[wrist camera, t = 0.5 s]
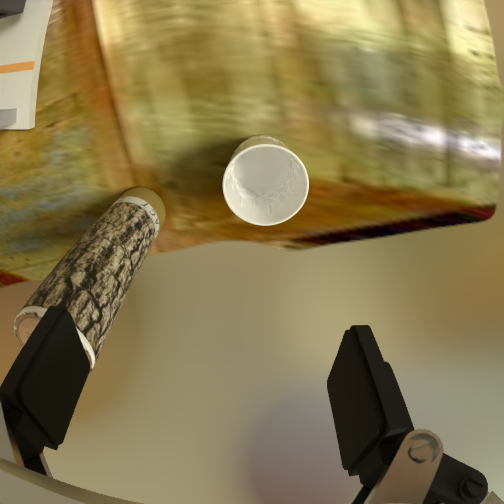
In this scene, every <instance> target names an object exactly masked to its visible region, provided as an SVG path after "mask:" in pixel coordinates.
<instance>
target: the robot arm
mask: <svg viewBox="0 0 504 504" xmlns="http://www.w3.org/2000/svg"><path fill="white" fill-rule="evenodd" d="M89 372H90V361H89V359H88V357H87V354H86V352H85V349H84V347H83V344H82V342H81V339H80V337H79V334H78V331H77V329H76V326H75V323H74V320H73V317H72V315H71V313H70V312H68V310H67V309H66V308H65V307H60V306H53V305H51V306H50V307H49V308H48V309H47V311H46V312H45V314H44V315H43V317H42V318H41V320H40V321H39V323H38V324H37V326H36V327H35V329H34V330H33V332H32V334H31V335H30V337H29V338H28V340H27V342H26V343H25V345H24V346H23V348H22V350H21V351H20V353H19V355H18V356H17V358H16V360H15V362H14V363H13V365H12V367H11V369H10V370H9V372H8V374H7V376H6V377H5V379H4V381H3V383H2V385H1V387H0V504H142V503H136V502H132V501H127V500H123V499H119V498H114V497H110V496H107V495H103V494H99V493H96V492H92V491H89V490H86V489H82V488H79V487H76V486H73V485H70V484H67V483H64V482H61V481H59V480H55V479H53V477H52V474H51V472H50V470H49V467H48V465H47V462H46V459H45V457H44V454H43V449H44V446H46V447H48V448H51V449H54V450H57V448H58V445H60V444H62V443H63V440H64V438H65V435H66V432H67V429H68V426H69V424H70V420H71V418H72V415H73V413H74V409H75V407H76V404H77V402H78V399H79V397H80V394H81V392H82V389H83V386H84V384H85V382H86V379H87V377H88V374H89ZM327 389H328V394H329V399H330V404H331V408H332V414H333V419H334V424H335V429H336V433H337V439H338V444H339V450H340V455H341V460H342V466H343V468H344V470H348V473H349V476H355V475H359V477H360V482H361V486H360V488H359V489H358V491H357V492H356V494H355V495H354V497H353V498H352V500H351V501H350V503H349V504H504V502H503V501H502V500H501V499H500V498H499V497H498V496H497V495H496V494H495V493H494V492H493V491H492V492H491V493H489V492H488V483H487V480H486V478H485V476H484V475H483V474H482V473H481V472H479V471H478V470H476V469H474V468H472V467H470V466H467V465H466V464H464V463H462V462H460V461H458V460H456V459H454V458H452V457H450V456H448V455H446V454H445V453H443V444H442V442H441V440H440V438H439V437H438V436H437V435H436V434H435V433H433V432H432V431H430V430H427V429H417V430H414V427H413V424H412V421H411V418H410V415H409V413H408V410H407V407H406V404H405V402H404V399H403V396H402V394H401V391H400V388H399V386H398V383H397V381H396V378H395V375H394V373H393V370H392V368H391V366H390V364H389V363H387V362H384V360H383V357H382V355H381V352H380V350H379V347H378V345H377V342H376V340H375V337H374V335H373V333H372V330H371V328H370V326H368V325H353V326H351V328H350V330H346V331H345V333H344V336H343V339H342V342H341V345H340V347H339V350H338V353H337V356H336V358H335V361H334V364H333V366H332V369H331V372H330V374H329V377H328V380H327Z"/></svg>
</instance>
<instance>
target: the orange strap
mask: <svg viewBox="0 0 504 504" xmlns="http://www.w3.org/2000/svg"><path fill="white" fill-rule="evenodd" d="M34 63H35V61H29V62H22V63H15V64H8V65H2V66H0V74H1V73H8V72H15V71H23V70H32V69H34Z"/></svg>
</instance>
